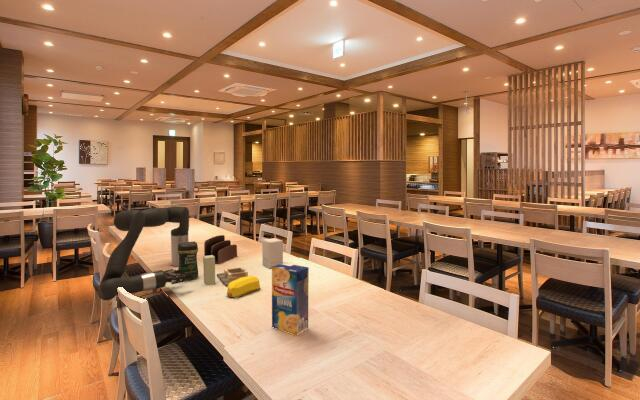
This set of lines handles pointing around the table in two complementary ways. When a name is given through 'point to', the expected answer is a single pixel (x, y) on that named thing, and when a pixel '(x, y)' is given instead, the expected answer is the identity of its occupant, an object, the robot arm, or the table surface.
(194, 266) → the coffee jar
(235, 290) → the yellow banana
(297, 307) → the blue cracker box
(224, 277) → the well board
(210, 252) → the letter holder
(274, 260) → the supplement box
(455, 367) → the table surface
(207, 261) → the post
